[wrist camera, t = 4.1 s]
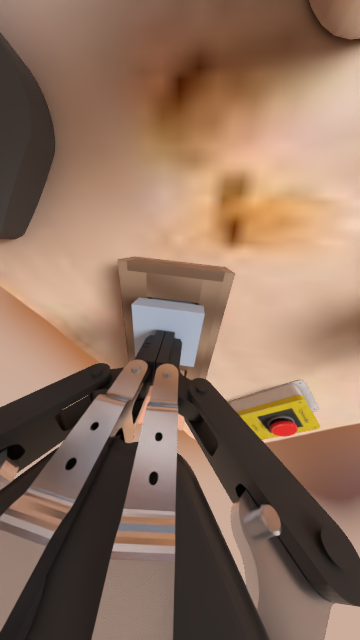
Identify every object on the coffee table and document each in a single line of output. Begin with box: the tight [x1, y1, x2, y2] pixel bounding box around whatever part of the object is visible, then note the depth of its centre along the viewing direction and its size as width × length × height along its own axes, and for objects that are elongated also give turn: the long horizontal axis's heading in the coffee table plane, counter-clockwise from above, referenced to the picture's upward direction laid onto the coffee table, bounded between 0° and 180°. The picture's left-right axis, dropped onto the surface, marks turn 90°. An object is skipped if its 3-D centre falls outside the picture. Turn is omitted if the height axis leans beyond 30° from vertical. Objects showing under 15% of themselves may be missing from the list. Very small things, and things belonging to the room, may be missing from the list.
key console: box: [118, 257, 235, 380], centre depth 18 cm, size 20×10×4 cm, turn 174°
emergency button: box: [228, 380, 320, 440], centre depth 24 cm, size 9×4×15 cm
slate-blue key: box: [132, 297, 205, 367], centre depth 14 cm, size 6×6×4 cm
